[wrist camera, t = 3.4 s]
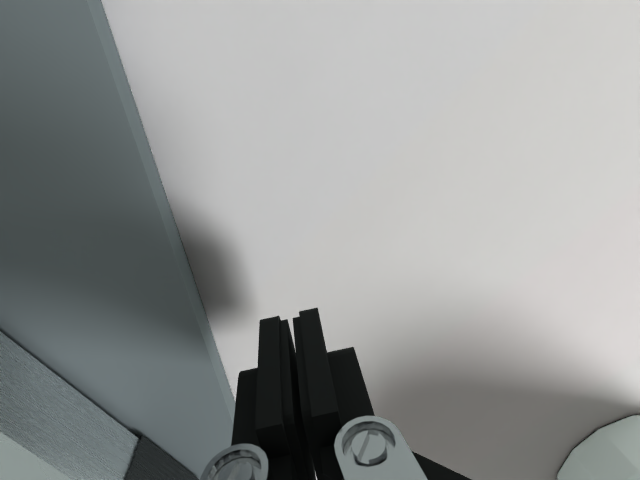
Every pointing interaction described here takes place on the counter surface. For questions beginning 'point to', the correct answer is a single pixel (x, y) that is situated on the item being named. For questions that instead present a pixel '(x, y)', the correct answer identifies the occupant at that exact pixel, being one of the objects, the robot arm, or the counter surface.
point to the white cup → (606, 454)
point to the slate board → (98, 237)
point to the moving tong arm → (66, 431)
